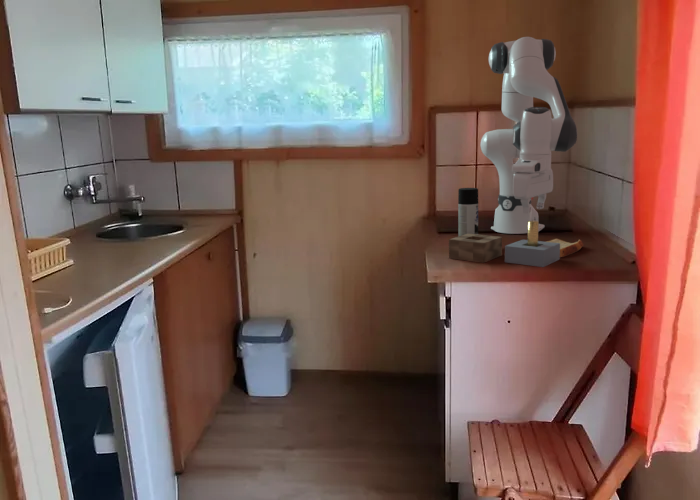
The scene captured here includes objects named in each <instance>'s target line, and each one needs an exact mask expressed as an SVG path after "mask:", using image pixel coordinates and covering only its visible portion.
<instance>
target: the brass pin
mask: <svg viewBox="0 0 700 500" xmlns="http://www.w3.org/2000/svg"><path fill="white" fill-rule="evenodd" d="M538 224H539V220H538V221H528V233H527V240H528V242H527V246H533V247H538V241H539V232H538Z"/></svg>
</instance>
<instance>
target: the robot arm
mask: <svg viewBox="0 0 700 500" xmlns="http://www.w3.org/2000/svg"><path fill="white" fill-rule="evenodd" d="M556 53H557V52H556V47H555V44H554V42H553V41H552V40H551V39H547V38H541V39H538V38H537V39H536V38H534V37H531V36H523V37H520V38H518V39H517V40H512V41H510V40H509V41H506V42H505V41H500V42H497V43H494V45H492V46H491V49H490V51H489V54H488V64H489V67H490V71H492V72H493V73H494V74H498V75H503V78H502V83H501V88H502V89H501V112H502V115H503V116H504V117H506V118H507V119H509V120H510V121H513V122H515V123H516V124H515V125H514V126H513V127H512V128H503V129H502V128H499V129H494V130H493V129H492V130H490V131H486V132H485V133H484V134H483V135H482V136H481V139H480V150H481V153H482V154H483V155H484V157H486V158H487V159H489V161H491V163H492V164H493V165H494V167H495V168H496V171H497V174H498V182H499V183H498V184H499V194H498V195H497V197H498V198H497V203H498V206H497V207H496V208H495V211H494V217H493V218H494V221H493V226H491V227H490V229H491V230H493V231H494V232H497V233H501V234H510V235H511V234H512V235H514V234H518V235H519V234H528V221H538V222H539V213H538V211H537V210H542V209H544V208H545V201H546V199H547V194H549V193H552V192H553V190H554V171H553V169H552V152H560V153H561V152H563V153H566V152H567V151H569V150H570V149H572V148H573V147H574V145H575V144H576V143H577V140H578V129H577V124H576V122H575V120H574V119H573V117H572V115H571V112H570V109H569V106H568V103H567V101H566V98H565V95H564V92H563V89H562V86H561V84H560V82H559V80H558V79H557V78H556V77H554V76H553V75H552V74H550V72H549V71H548V70H549V69H551V68H552V67H553V65H554V62H555V61H556V56H557V54H556ZM534 98H535V99H538V100H542V101H544V102H546V103H547V104H548V105H549V107H550V109H549V108H548V107H544V106H534ZM552 115H553V118H552ZM515 159H517V161H516V162H515V163H514V160H515ZM534 197H538V199H537V202H536V206H535V208H536V209H537V210H536V209H535V208H534V206H533V205H532V202H533V201H532V200H534ZM543 229H545V224H542V223H538V233H539V232H540V231H542V230H543Z"/></svg>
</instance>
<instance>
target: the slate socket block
mask: <svg viewBox="0 0 700 500" xmlns="http://www.w3.org/2000/svg"><path fill="white" fill-rule="evenodd" d="M527 242H528V239H520V240H518V241H515V242H511V243H509V244H506V245H504V263H508V264H516V265H522V266H523V265H524V266H529V267H530V266H532V267H540V268H544V267H547V266H549V265H551V264H553V263H555V262H557V261H559V260H560V259H561V257H560V243H552V242H546V241H543V240H542V241H541V240H538V247H533V246H527Z"/></svg>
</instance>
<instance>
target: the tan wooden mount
mask: <svg viewBox="0 0 700 500" xmlns="http://www.w3.org/2000/svg"><path fill="white" fill-rule="evenodd" d="M502 246H503V237H502V236H496V235H487V234H486V235H485V234H479V233H478V234H465V235H462V236H459V235H458V236H454V237H453V238H450V239H448V259H453V260H461V261H469V262H476V263H487V262H489V261H491V260H494V259H497V258H499V257H502V255H503V254H502V253H503V250H502V249H503V247H502Z"/></svg>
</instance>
